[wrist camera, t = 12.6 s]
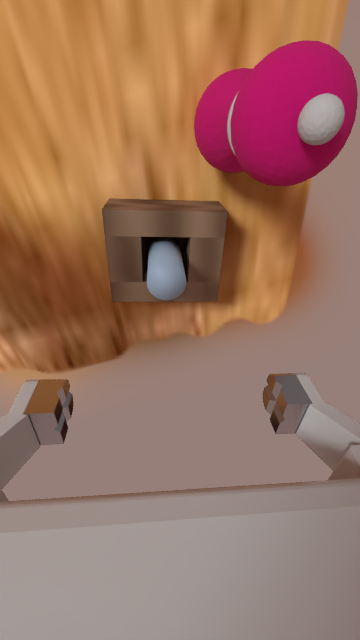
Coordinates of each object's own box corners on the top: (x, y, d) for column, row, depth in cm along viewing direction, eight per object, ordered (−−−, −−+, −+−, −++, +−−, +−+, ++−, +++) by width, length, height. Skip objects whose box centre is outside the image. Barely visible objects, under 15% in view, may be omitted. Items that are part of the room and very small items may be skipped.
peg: (148, 230, 33) (146, 264, 24) (179, 230, 33) (187, 264, 25) (149, 259, 35) (147, 300, 26) (178, 259, 35) (185, 300, 27)
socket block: (117, 282, 36) (112, 301, 32) (109, 198, 31) (101, 209, 26) (209, 282, 37) (216, 301, 33) (218, 201, 32) (228, 212, 27)
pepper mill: (266, 155, 29) (409, 188, 13) (198, 176, 30) (251, 233, 13) (258, 65, 25) (452, -56, 9) (181, 91, 26) (225, 26, 9)
